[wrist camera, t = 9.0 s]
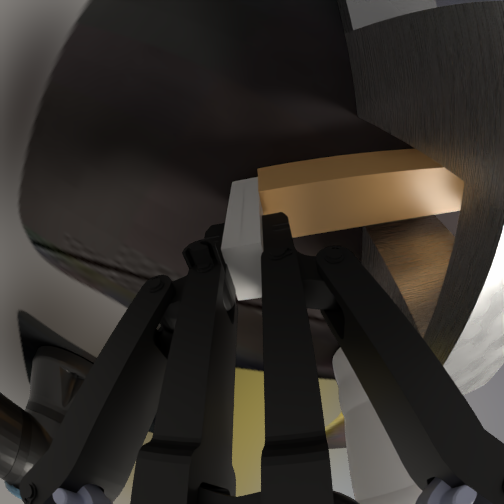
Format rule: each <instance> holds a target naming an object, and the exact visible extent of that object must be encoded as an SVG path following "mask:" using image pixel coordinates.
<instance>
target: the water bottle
mask: <svg viewBox="0 0 504 504" xmlns="http://www.w3.org/2000/svg"><path fill="white" fill-rule="evenodd" d="M332 364H333V370H334V374H335V378H336V382H337V384H338V387H339V402H340V406H341V411H342V413H343V416H344V418H345V436H346V445H347V453H348V461H349V469H350V475H351V481H352V487H353V492H354V496H355V500H356V501H357V502H358V503H359V504H415V503H416V501H417V499H418V497H419V495H420V494H421V493H422V490H421V489H420V488H419V487H418V486H417V485H416V483H415V482H414V481H413V480H412V478H411V477H410V476H409V474H408V472H407V471H406V469H405V467H404V465H403V464H402V462H401V460H400V458H399V456H398V454H397V452H396V450H395V448H394V446H393V444H392V442H391V440H390V438H389V436H388V434H387V432H386V430H385V428H384V426H383V424H382V423H381V421H380V419H379V417H378V415H377V413H376V411H375V409H374V407H373V406H372V404H371V402H370V400H369V398H368V396H367V394H366V392H365V391H364V389H363V387H362V385H361V383H360V381H359V380H358V378H357V376H356V374H355V372H354V370H353V369H352V367H351V365H350V363H349V361H348V360H347V358H346V356H345V354H344V352H343V351H342V349H341V347H340V348H339V349H338V350H337V351H336V353H335V354H334V356H333V360H332Z"/></svg>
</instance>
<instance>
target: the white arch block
mask: <svg viewBox="0 0 504 504" xmlns="http://www.w3.org/2000/svg"><path fill="white" fill-rule="evenodd" d="M337 4H338V7H339V11H340V15H341V20H342V24H343V28H344V33H345V38H346V43H347V48H348V53H349V59H350V64H351V70H352V77H353V83H354V90H355V98H356V106H357V115H358V117H359V118H361V119H363V120H365V121H367V122H369V123H371V124H373V125H375V126H377V127H379V128H381V129H382V130H384V131H386V132H388V133H390V134H392V135H393V136H395V137H397V138H399V139H400V140H402V141H404V142H406V143H407V144H409V145H411V146H412V147H414V148H415V149H417V150H419V151H420V152H422V153H423V154H425V155H427V156H428V157H430V158H431V159H433V160H434V161H436V162H437V163H439V164H440V165H442V166H443V167H445V168H446V169H447V170H449V171H450V172H452V173H453V174H454V175H456V176H457V177H459V178H460V179H461V180H463V181H464V189H463V197H462V203H461V209H460V215H459V220H458V225H457V230H456V235H455V237H454V236H453V235H452V233H451V232H450V231H449V230H448V229H447V228H446V227H445V226H444V225H443V224H442V222H441V221H440V220H439V219H438V218H437V217H436V216H435V215H428V216H422V217H416V218H410V219H403V220H397V221H391V222H385V223H379V224H373V225H367V226H363V240H362V265H363V266H364V267H365V268H366V269H367V270H368V272H369V273H370V274H371V275H372V276H373V277H374V279H375V280H376V281H377V282H378V283H379V284H380V286H381V287H382V288H383V289H384V290H385V292H386V293H387V294H388V295H389V296H390V298H391V299H392V300H393V301H394V303H395V304H396V305H397V306H398V307H399V309H400V310H401V311H402V312H403V314H404V315H405V316H406V317H407V319H408V320H409V321H410V323H411V324H412V325H413V326H414V328H415V329H416V330H417V332H418V333H419V334H420V335H421V337H422V338H423V339H424V341H425V342H426V343H427V345H428V346H429V347H430V349H431V350H432V352H433V353H434V354H435V356H436V357H437V358H438V360H439V361H440V363H441V364H442V365H443V367H444V368H445V370H446V371H447V372H448V374H449V375H450V377H451V378H452V380H453V381H454V383H455V384H456V386H457V387H458V389H459V390H460V392H461V393H462V395H464V394H467V393H469V392H471V391H473V390H475V389H478V388H480V387H482V386H483V385H485V384H487V382H488V381H489V380H490V379H491V378H492V377H493V375H494V374H495V373H496V372H497V371H498V369H499V368H500V367H501V366H502V364H503V363H504V1H485V2H472V3H463V4H455V5H449V6H442V7H437V5H436V2H435V0H337Z"/></svg>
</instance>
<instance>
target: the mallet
mask: <svg viewBox="0 0 504 504" xmlns="http://www.w3.org/2000/svg"><path fill="white" fill-rule="evenodd" d="M257 172H258V192H259V196H260V201H261V206H262V210H263V215H267V214H273V213H278V212H283V213H284V214H285V215H287V216H288V220H289V225H290V229H291V234H292V238H295V237H301V236H306V235H312V234H318V233H324V232H330V231H336V230H342V229H348V228H354V227H361V226H367V225H373V224H379V223H385V222H391V221H397V220H403V219H410V218H416V217H422V216H428V215H435V214H441V213H447V212H454V211H460V209H461V203H462V197H463V189H464V181H463V180H461V179H460V178H459V177H457V176H456V175H454V174H453V173H452V172H450V171H449V170H447V169H446V168H445V167H443V166H442V165H440V164H439V163H437V162H436V161H434V160H433V159H431V158H430V157H428V156H427V155H425V154H423V153H422V152H420V151H419V150H417V149H401V150H388V151H377V152H366V153H357V154H348V155H340V156H332V157H325V158H318V159H311V160H304V161H298V162H291V163H285V164H280V165H274V166H268V167H263V168H258V169H257Z"/></svg>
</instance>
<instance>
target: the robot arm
mask: <svg viewBox="0 0 504 504" xmlns="http://www.w3.org/2000/svg"><path fill="white" fill-rule="evenodd" d="M182 253H183V256H184V258H185V261H186V263H187V265H188V267H189V272H188V275H187V276H185V277H183V278H180V279H178V280H175V281H171V279H170V278H169V277H168V276H166V275H158V276H155V277H153V278H151V279H150V280H148V281H147V282H146V283H145V284H144V285H143V286H142V288H141V289H140V291H139V292H138V294H137V295H136V297H135V298H134V300H133V301H132V303H131V304H130V306H129V307H128V309H127V311H126V312H125V314H124V315H123V317H122V318H121V320H120V321H119V323H118V325H117V326H116V328H115V330H114V331H113V333H112V334H111V336H110V337H109V339H108V341H107V343H106V344H105V346H104V347H103V349H102V351H101V353H100V354H99V356H98V357H97V359H96V361H95V362H94V364H92V363H90V362H89V361H87V360H85V359H83V358H81V357H79V356H77V355H75V354H73V353H71V352H68V351H66V350H63V349H60V348H57V347H53V346H41V347H39V348H38V350H37V352H36V354H35V356H34V358H33V362H32V373H31V386H30V397H29V400H28V404H27V406H26V409H25V410H23V409H22V408H20V407H19V406H18V405H16V404H15V403H13V402H12V401H11V400H9V399H8V398H7V397H5V396H4V395H3V394H2V393H0V478H2V479H3V480H5V485H6V488H7V489H8V490H9V491H10V492H11V493H12V494H13V495H15V496H16V497H18V498H20V499H22V501H23V502H24V504H113V501H114V500H115V499H116V498H117V497H118V495H119V494H120V492H121V491H122V489H123V488H124V486H125V484H126V482H127V480H128V478H129V476H130V473H131V471H132V468H133V466H134V464H135V461H136V466H135V473H134V480H133V487H132V495H131V503H130V504H359V503H358V502H357V501H355V500H354V499H352V498H350V497H348V496H346V495H344V494H342V493H339V492H336V491H333V489H332V478H331V467H330V458H329V450H328V444H327V440H326V434H325V426H324V418H323V410H322V403H321V396H320V388H319V382H318V374H317V368H316V361H315V355H314V348H313V342H312V336H311V330H310V324H309V319H308V313H307V308H311V309H320V311H321V314H322V315H323V317H324V319H325V321H326V322H327V324H328V326H329V328H330V329H331V331H332V333H333V335H334V336H335V338H336V340H337V342H338V343H339V345H340V347H341V349H342V351H343V352H344V354H345V356H346V358H347V360H348V361H349V363H350V365H351V367H352V369H353V370H354V372H355V374H356V376H357V378H358V380H359V381H360V383H361V385H362V387H363V389H364V391H365V392H366V394H367V396H368V398H369V400H370V402H371V404H372V406H373V407H374V409H375V411H376V413H377V415H378V417H379V419H380V421H381V423H382V424H383V426H384V428H385V430H386V432H387V434H388V436H389V438H390V440H391V442H392V444H393V446H394V448H395V450H396V452H397V454H398V456H399V458H400V460H401V462H402V464H403V465H404V467H405V469H406V471H407V472H408V474H409V476H410V477H411V478H412V480H413V481H414V482H415V483H416V485H417V486H418V487H419V488H420V489H421V490H422V493H421V494H420V495H419V497H418V499H417V501H416V503H415V504H504V444H503V443H502V442H501V441H499V440H498V439H497V438H495V437H494V436H493V435H491V434H490V433H488V432H487V431H486V430H485V429H484V428H483V426H482V425H481V423H480V421H479V420H478V418H477V416H476V415H475V413H474V412H473V410H472V408H471V407H470V406H469V404H468V402H467V401H466V399H465V398H464V396H463V395H462V393H461V392H460V390H459V389H458V387H457V386H456V384H455V383H454V381H453V380H452V378H451V377H450V375H449V374H448V372H447V371H446V370H445V368H444V367H443V365H442V364H441V363H440V361H439V360H438V358H437V357H436V356H435V354H434V353H433V352H432V350H431V349H430V347H429V346H428V345H427V343H426V342H425V341H424V339H423V338H422V337H421V335H420V334H419V333H418V332H417V330H416V329H415V328H414V326H413V325H412V324H411V323H410V321H409V320H408V319H407V317H406V316H405V315H404V314H403V312H402V311H401V310H400V309H399V307H398V306H397V305H396V304H395V303H394V301H393V300H392V299H391V298H390V296H389V295H388V294H387V293H386V292H385V290H384V289H383V288H382V287H381V286H380V284H379V283H378V282H377V281H376V280H375V279H374V277H373V276H372V275H371V274H370V273H369V272H368V270H367V269H366V268H365V267H364V266H363V265H362V264H361V263H360V261H359V260H358V259H357V258H356V257H355V256H354V255H353V254H352V252H351V251H349V250H348V249H347V248H344V247H341V246H330V247H326V248H324V249H322V250H321V251H320V252H319V253H318V254H317V256H306V255H303V254H300V253H299V252H297V251H296V250H295V247H294V244H293V239H292V234H291V229H290V225H289V220H288V216H287V215H285V214H284V213H283V212H278V213H273V214H267V215H263V210H262V206H261V201H260V196H259V192H258V177H254V178H249V179H244V180H239V181H234V182H232V186H231V191H230V197H229V203H228V209H227V215H226V221H225V223H222V224H217V225H212V226H211V227H210V228H209V229H208V230H207V231H206V233H205V237H204V240H198V241H195V242H193V243H191V244H189V245H188V246H187V247H186V248H185V249H184V250H183V252H182ZM235 293H236V295H237V298H238V301H240V300H247V299H254V298H261V297H262V317H263V355H264V396H265V397H264V399H265V446H264V448H263V450H262V456H261V492H257V493H253V494H249V495H244V496H239V497H236V496H235V495H236V479H235V473H234V470H233V466H232V438H233V411H234V385H235V384H234V383H235V362H236V340H237V318H238V308H237V305H236V302H235ZM159 323H160V324H161V327H160V328H159V330H157V329H156V328H157V326H158V324H159ZM156 412H157V415H156V421H155V426H154V432H153V438H152V439H151V441H150V442H148V443H146V444H145V445H143V442H144V440H145V438H146V435H147V433H148V431H149V428H150V426H151V424H152V421H153V419H154V417H155V414H156ZM142 445H143V446H142ZM136 459H137V460H136Z"/></svg>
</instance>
